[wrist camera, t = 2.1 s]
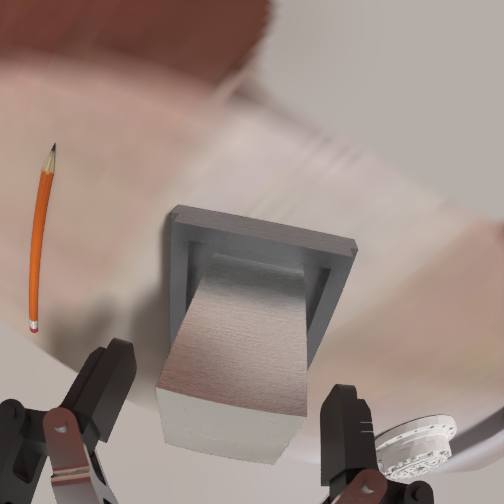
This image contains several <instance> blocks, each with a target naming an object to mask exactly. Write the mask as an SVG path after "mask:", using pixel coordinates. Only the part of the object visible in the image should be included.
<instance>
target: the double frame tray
mask: <svg viewBox="0 0 504 504" xmlns="http://www.w3.org/2000/svg"><path fill="white" fill-rule="evenodd" d="M357 251H358V248H357V245H356V243H355V240H353V239H348V238H344V237H339V236H335V235H330V234H325V233H321V232H316V231H311V230H307V229H302V228H297V227H292V226H287V225H282V224H278V223H273V222H268V221H263V220H257V219H252V218H247V217H242V216H237V215H232V214H226V213H221V212H216V211H210V210H205V209H199V208H193V207H188V206H182V205H178V206H177V207H176V208H175V209H174V210H173V211H172V212H171V232H170V273H169V306H170V347H171V348H172V346H173V343H174V341H175V339H176V336H177V334H178V332H179V329H180V327H181V325H182V322H183V320H184V318H185V315H186V313H187V311H188V309H189V306H190V304H191V302H192V299H193V297H194V295H195V293H196V290H197V288H198V286H199V284H200V281H201V279H202V277H203V275H204V272H205V270H206V268H207V266H208V264H209V261H210V259H211V257H212V255H213V253H216V254H220V255H225V256H230V257H235V258H240V259H245V260H250V261H255V262H260V263H265V264H270V265H275V266H281V267H286V268H291V269H296V270H301V271H304V282H305V305H306V336H307V371H308V368H309V366H310V364H311V362H312V360H313V358H314V356H315V354H316V351H317V349H318V347H319V345H320V343H321V340H322V338H323V336H324V334H325V331H326V329H327V327H328V324H329V322H330V320H331V317H332V315H333V313H334V310H335V308H336V305H337V303H338V301H339V298H340V296H341V293H342V291H343V288H344V286H345V283H346V280H347V278H348V275H349V273H350V270H351V267H352V265H353V262H354V259H355V257H356V254H357Z"/></svg>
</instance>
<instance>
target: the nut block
mask: <svg viewBox="0 0 504 504" xmlns="http://www.w3.org/2000/svg"><path fill="white" fill-rule="evenodd" d="M156 394H157V400H158V407H159V413H160V418H161V424H162V429H163V434H164V439H165V443H167V444H170V445H173V446H177V447H181V448H185V449H189V450H193V451H197V452H201V453H206V454H210V455H215V456H220V457H226V458H230V459H237V460H243V461H248V462H255V463H263V464H271V465H274V464H275V463H276V461H277V460H278V459H279V457H280V456H281V455H282V453H283V452H284V450H285V449H286V448H287V446H288V445H289V443H290V442H291V440H292V439H293V438H294V436H295V435H296V433H297V432H298V430H299V429H300V427H301V426H302V424H303V423H304V421H305V420H306V418H307V336H306V305H305V282H304V271H301V270H296V269H291V268H286V267H281V266H275V265H270V264H265V263H260V262H255V261H250V260H245V259H240V258H235V257H230V256H225V255H220V254H216V253H213V255H212V257H211V259H210V261H209V264H208V266H207V268H206V270H205V272H204V275H203V277H202V279H201V281H200V284H199V286H198V288H197V290H196V293H195V295H194V297H193V299H192V302H191V304H190V306H189V309H188V311H187V313H186V315H185V318H184V320H183V322H182V325H181V327H180V329H179V332H178V334H177V336H176V339H175V341H174V343H173V346H172V348H171V351H170V353H169V355H168V358H167V360H166V363H165V365H164V367H163V370H162V372H161V375H160V377H159V379H158V382H157V384H156Z"/></svg>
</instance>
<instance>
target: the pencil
mask: <svg viewBox="0 0 504 504" xmlns="http://www.w3.org/2000/svg"><path fill="white" fill-rule="evenodd" d="M54 167H55V144H54V146H53V148H52V150H51V152H50V154H49V156H48V158H47V160H46V162H45V164H44V166H43V169H42V172H41V177H40V183H39V188H38V194H37V200H36V207H35V214H34V222H33V231H32V241H31V254H30V273H29V318H30V331H31V332H33V333H36V332H37V331H38V284H39V269H40V257H41V247H42V239H43V231H44V224H45V217H46V211H47V206H48V200H49V195H50V190H51V185H52V180H53V176H54Z"/></svg>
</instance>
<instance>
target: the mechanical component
mask: <svg viewBox="0 0 504 504" xmlns="http://www.w3.org/2000/svg"><path fill="white" fill-rule="evenodd" d="M456 431H457V428H456V424H455V420H454V419H453V418H452V417H450V416H447V415H436V416H429V417H424V418H421V419H417V420H414V421H411V422H408V423H406V424H403V425H400V426H398V427H396V428H394V429H392V430H390V431H388V432H386V433H384V434H383V435H381V436H380V437H378V438H377V439H376V440H375V448H376V457H377V462H378V463H383V467H384V474H385V478H387V479H392V480H395V479H407V478H410V477H414V476H417V475H422V474H424V473H427V472H430V471H431V470H433V469H436V468H437V467H438V466H440V465H441V464H442V463H445V462H447V458H448V457H450V456H452V455H451V449H450V445H449V441H450V440H451V439H452V438H453V436H454V435H455V433H456Z"/></svg>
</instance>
